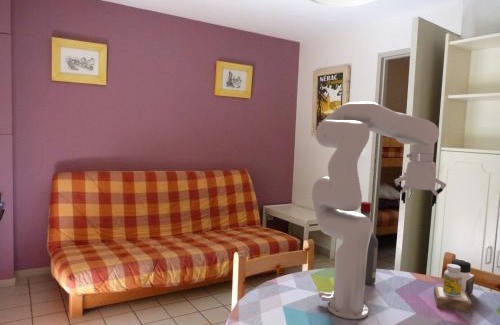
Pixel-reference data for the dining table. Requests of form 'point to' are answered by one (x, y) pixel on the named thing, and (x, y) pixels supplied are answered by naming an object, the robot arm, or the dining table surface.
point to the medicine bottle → (465, 275)
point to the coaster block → (452, 300)
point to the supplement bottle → (452, 280)
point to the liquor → (370, 250)
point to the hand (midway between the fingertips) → (418, 204)
